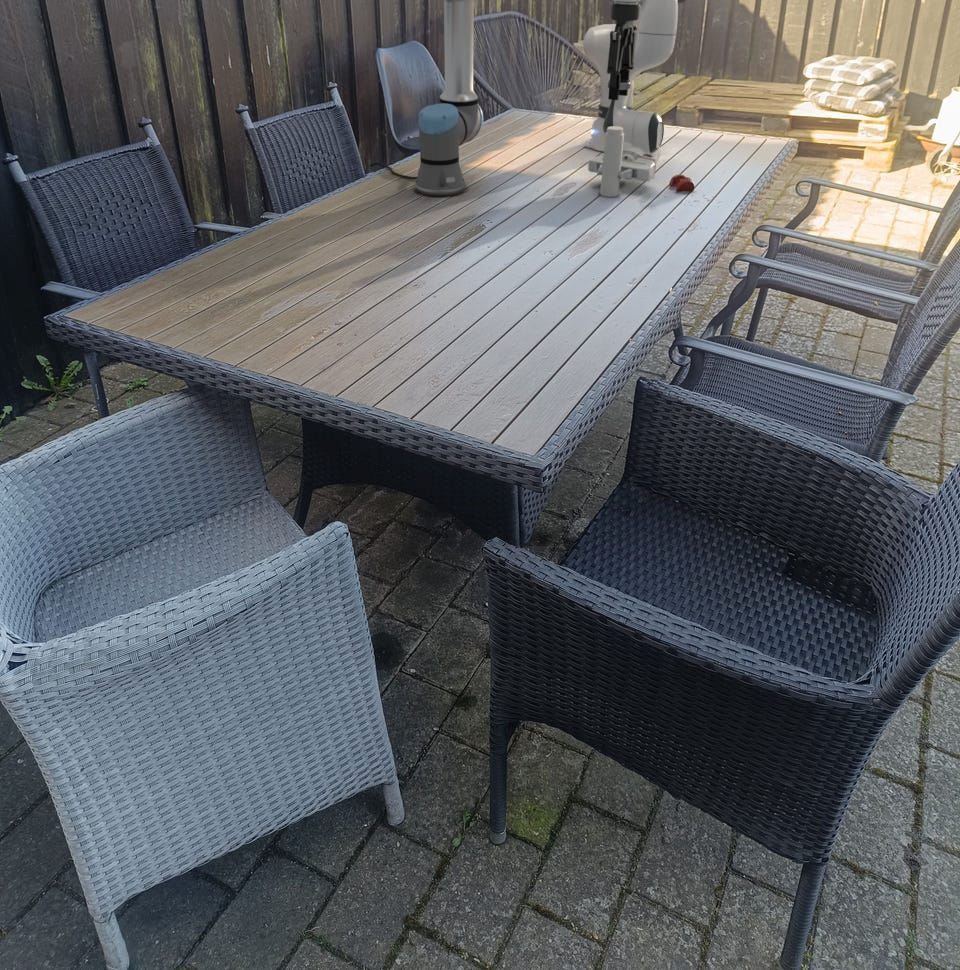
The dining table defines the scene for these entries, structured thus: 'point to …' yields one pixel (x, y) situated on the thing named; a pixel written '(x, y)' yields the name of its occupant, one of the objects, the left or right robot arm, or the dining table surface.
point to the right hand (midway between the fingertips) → (609, 174)
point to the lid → (623, 84)
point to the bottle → (612, 161)
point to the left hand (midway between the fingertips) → (617, 97)
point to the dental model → (681, 183)
